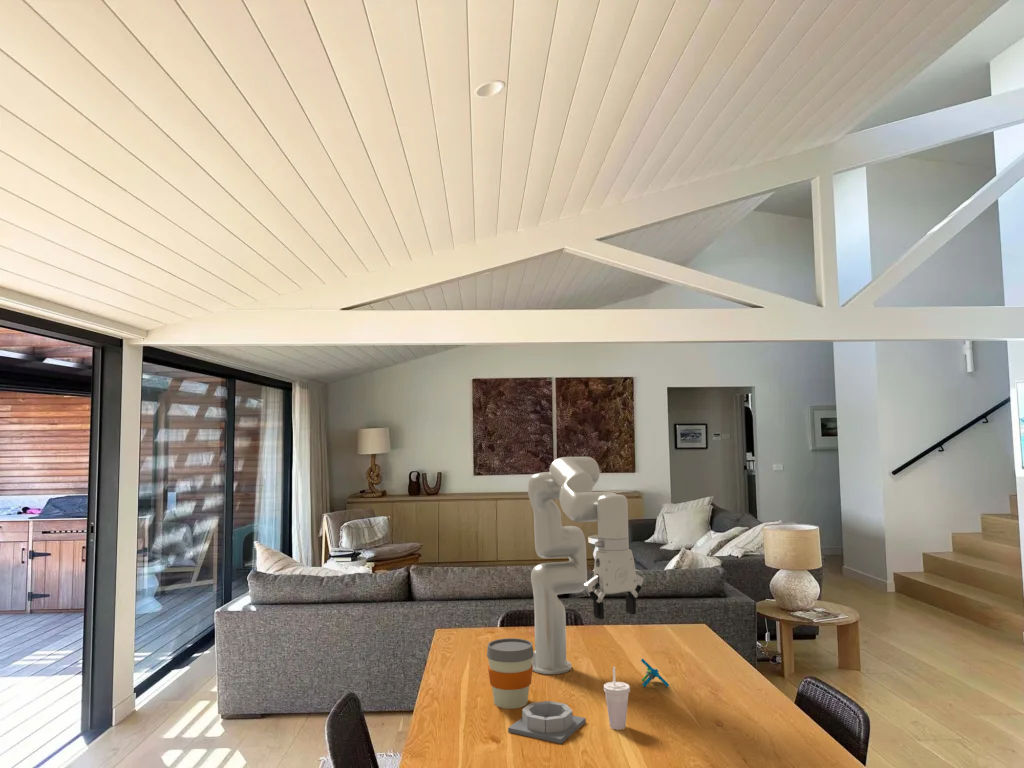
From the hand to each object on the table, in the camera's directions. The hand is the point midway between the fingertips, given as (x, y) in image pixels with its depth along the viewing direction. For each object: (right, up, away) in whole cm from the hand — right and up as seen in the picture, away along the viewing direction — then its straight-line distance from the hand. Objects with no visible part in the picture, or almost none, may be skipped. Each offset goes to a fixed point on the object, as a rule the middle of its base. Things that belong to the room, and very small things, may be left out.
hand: (615, 615), depth 172 cm
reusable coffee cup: (-26, -28, +15) cm, 41 cm away
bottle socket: (-17, -27, -2) cm, 31 cm away
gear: (+15, -29, +26) cm, 42 cm away
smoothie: (0, -27, -2) cm, 27 cm away
